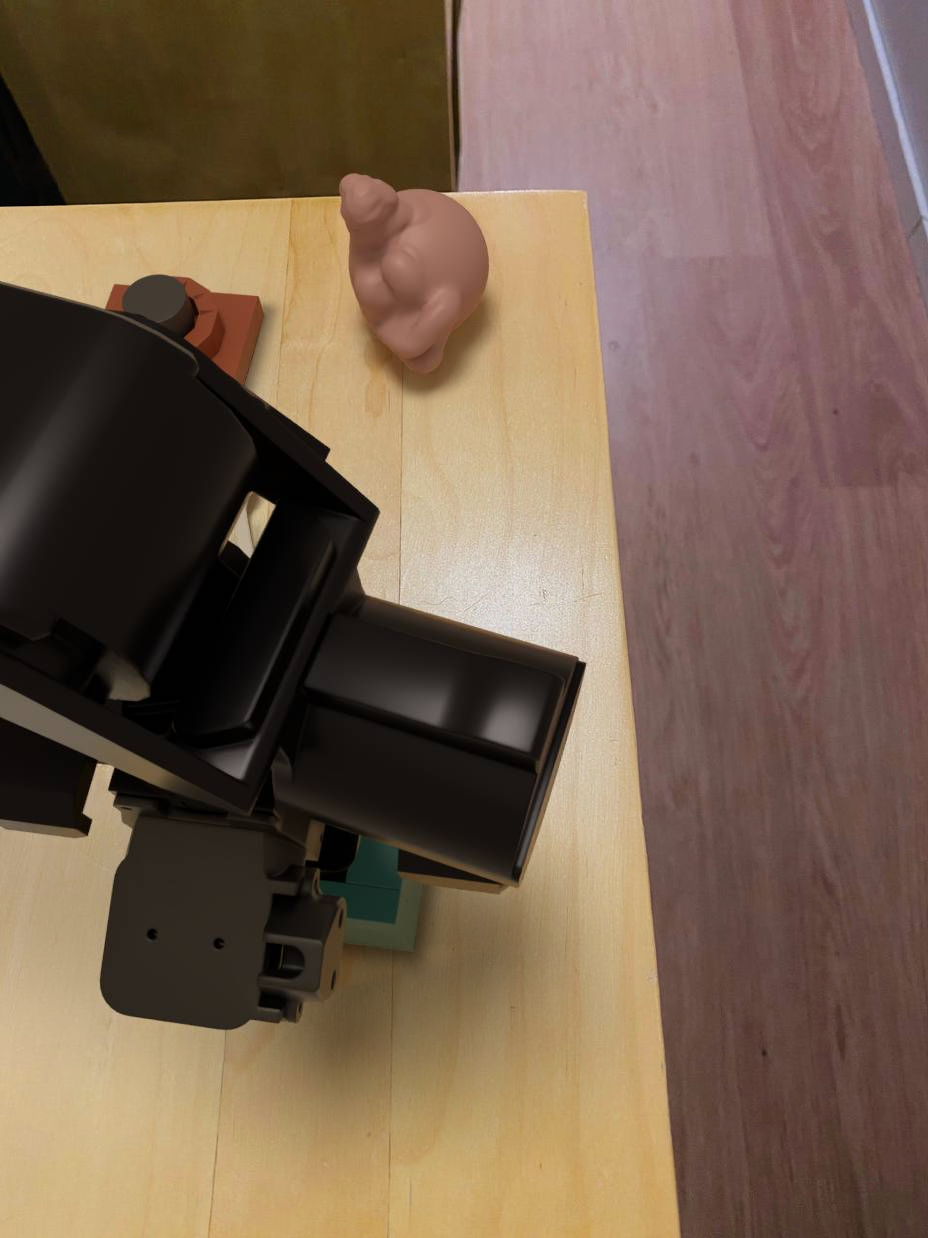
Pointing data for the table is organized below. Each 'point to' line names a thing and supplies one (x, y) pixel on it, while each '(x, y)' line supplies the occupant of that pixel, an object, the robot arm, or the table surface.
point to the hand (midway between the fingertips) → (303, 824)
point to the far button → (161, 302)
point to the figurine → (412, 265)
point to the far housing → (216, 324)
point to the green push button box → (377, 898)
